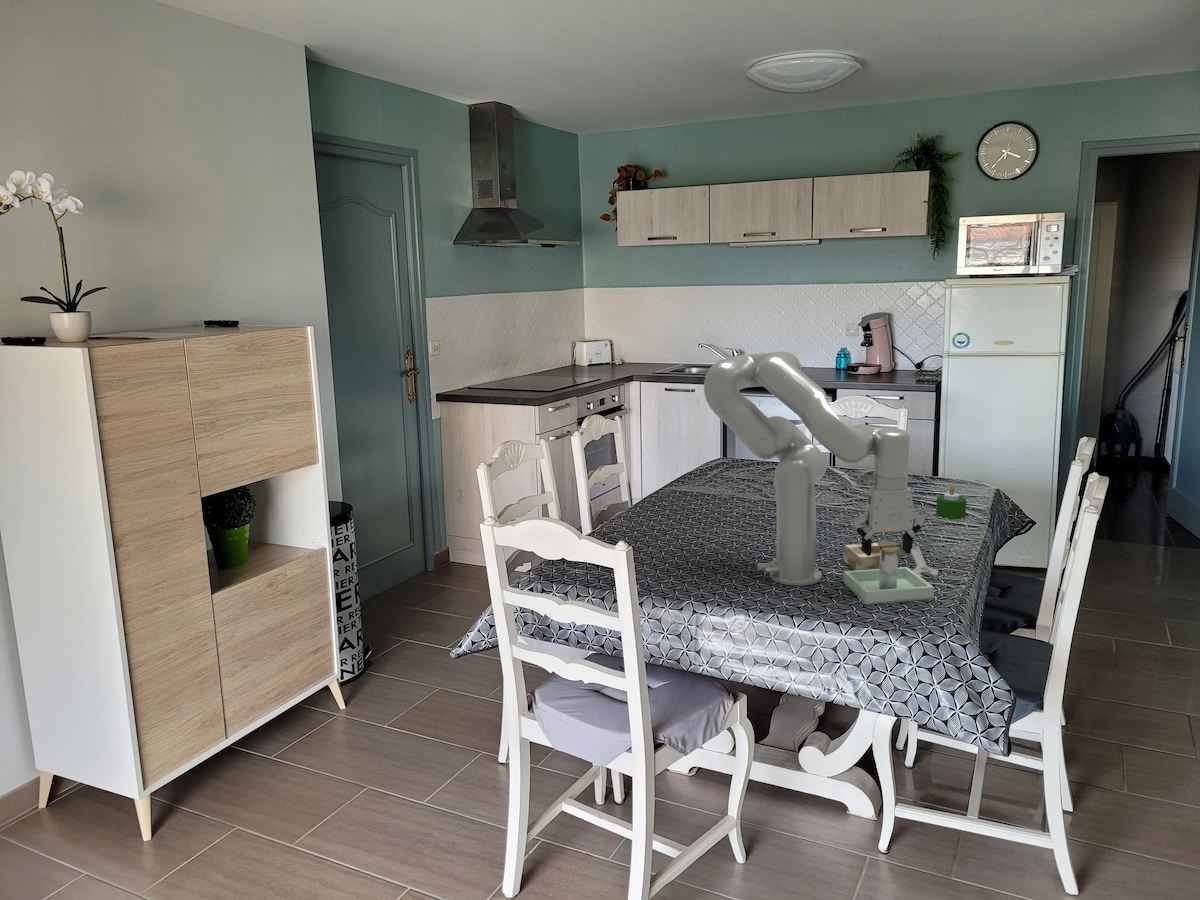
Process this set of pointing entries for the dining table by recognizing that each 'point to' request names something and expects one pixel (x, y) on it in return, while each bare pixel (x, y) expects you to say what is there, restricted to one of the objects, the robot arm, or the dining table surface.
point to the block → (862, 557)
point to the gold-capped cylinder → (888, 564)
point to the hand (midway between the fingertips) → (886, 552)
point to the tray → (907, 589)
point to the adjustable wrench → (922, 564)
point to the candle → (951, 505)
